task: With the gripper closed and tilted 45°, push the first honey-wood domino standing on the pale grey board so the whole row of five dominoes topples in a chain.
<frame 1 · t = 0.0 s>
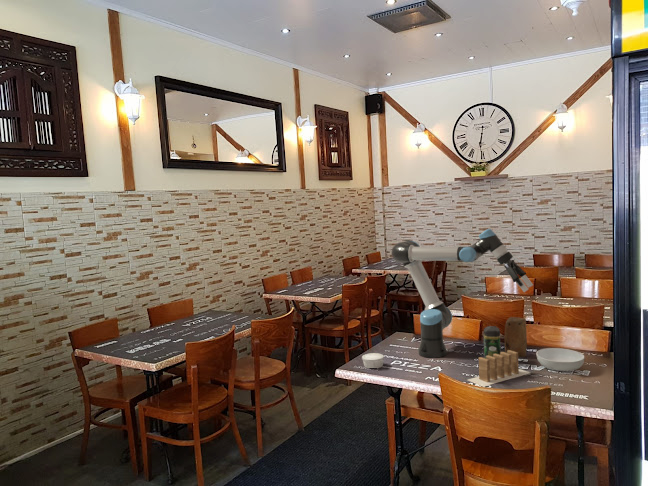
hand: (528, 288, 247), 36 cm above the table, tool tilted 35°, fingers open, 13 cm apart
block: (515, 356, 253), on the table
domino 4: (506, 374, 224), point 1 cm above the table, touching domino board
serving bowl: (560, 368, 231), on the table
domino board: (499, 378, 222), on the table
domino 2: (491, 378, 220), point 1 cm above the table, touching domino board
ramekin: (373, 366, 249), on the table
coffee jar: (492, 363, 243), on the table
domino 3: (499, 376, 222), point 1 cm above the table, touching domino board
domino 1: (484, 380, 218), point 1 cm above the table, touching domino board
domino 5: (513, 372, 226), point 1 cm above the table, touching domino board
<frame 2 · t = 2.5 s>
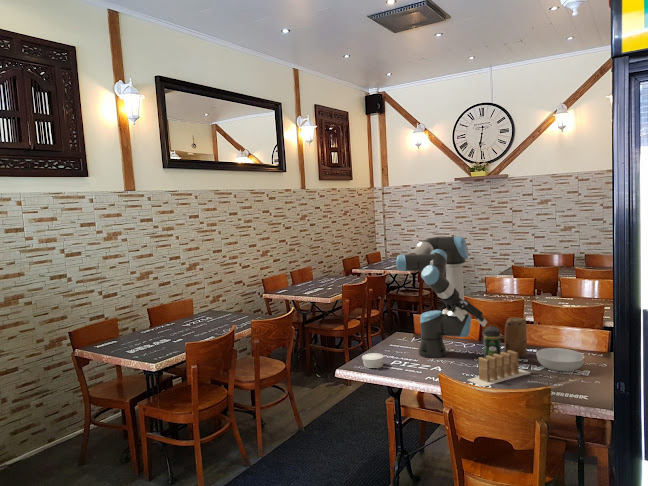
hand: (473, 321, 218), 28 cm above the table, tool tilted 45°, fingers open, 13 cm apart
nothing on the table moved.
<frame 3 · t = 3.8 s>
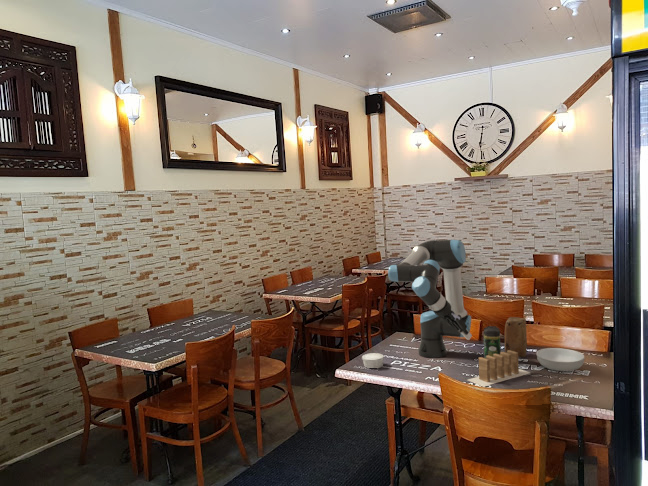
hand: (469, 337, 215), 22 cm above the table, tool tilted 45°, fingers closed
nothing on the table moved.
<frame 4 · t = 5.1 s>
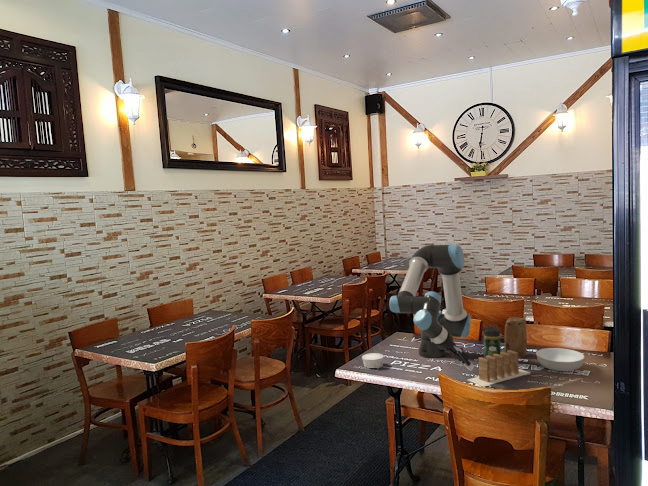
hand: (471, 368, 214), 8 cm above the table, tool tilted 45°, fingers closed
nothing on the table moved.
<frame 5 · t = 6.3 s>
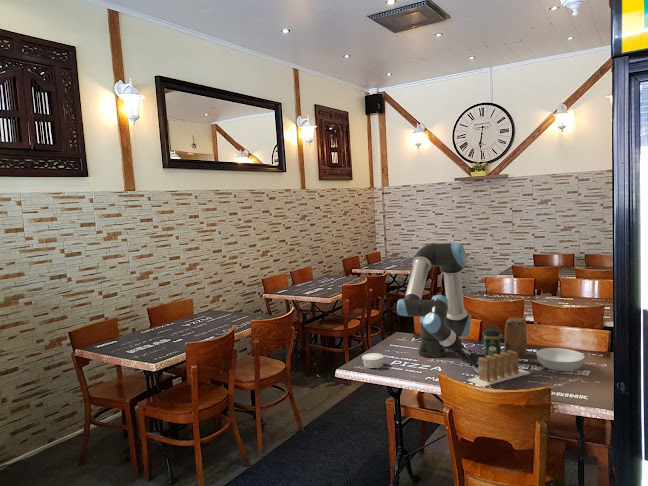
hand: (479, 370, 216), 6 cm above the table, tool tilted 45°, fingers closed
nothing on the table moved.
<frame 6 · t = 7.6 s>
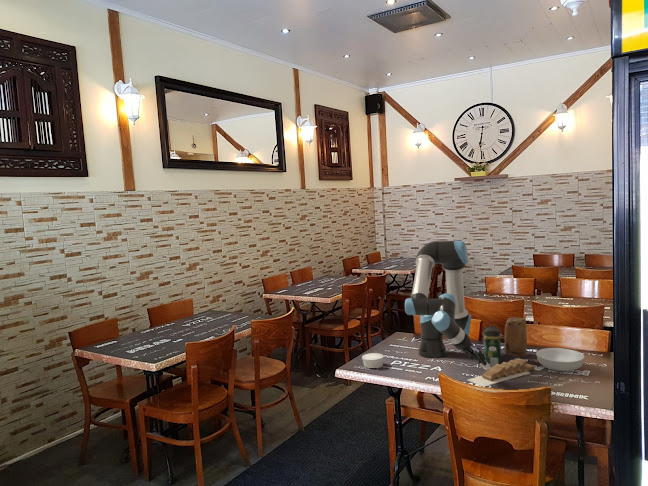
hand: (487, 367, 219), 7 cm above the table, tool tilted 45°, fingers closed
domino 4: (508, 372, 225), point 2 cm above the table, tilted 69°, touching domino board, domino 3, domino 5
domino 2: (493, 376, 221), point 2 cm above the table, tilted 69°, touching domino board, domino 1, domino 3
domino 3: (501, 374, 223), point 2 cm above the table, tilted 69°, touching domino 2, domino 4
domino 1: (486, 378, 219), point 2 cm above the table, tilted 70°, touching domino board, domino 2
domino 5: (515, 370, 227), point 2 cm above the table, tilted 90°, touching domino board, domino 4
everything else where it was.
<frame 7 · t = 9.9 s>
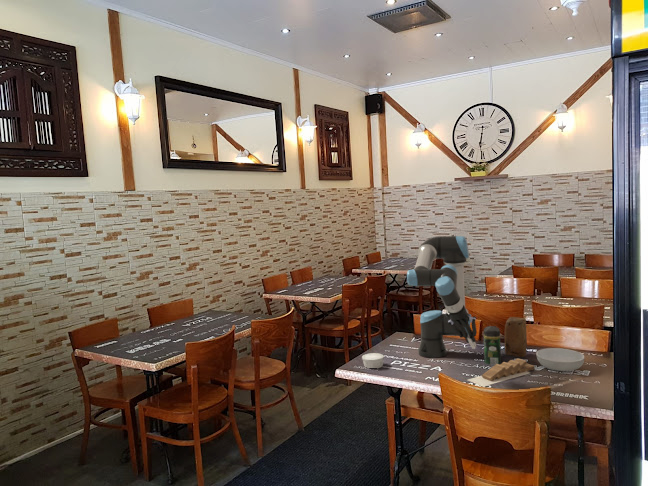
hand: (474, 346, 220), 16 cm above the table, tool tilted 30°, fingers closed
nothing on the table moved.
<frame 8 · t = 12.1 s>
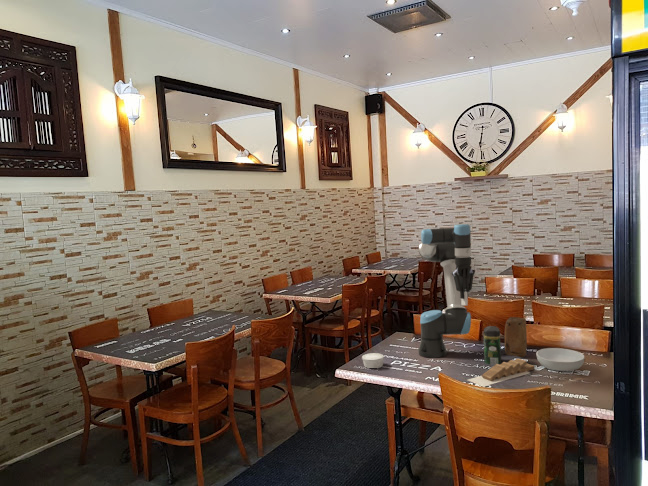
hand: (464, 305, 233), 32 cm above the table, tool pointing down, fingers closed
nothing on the table moved.
at the end: domino 5 tilted 90°; domino 3 tilted 69°; domino 1 tilted 70° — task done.
